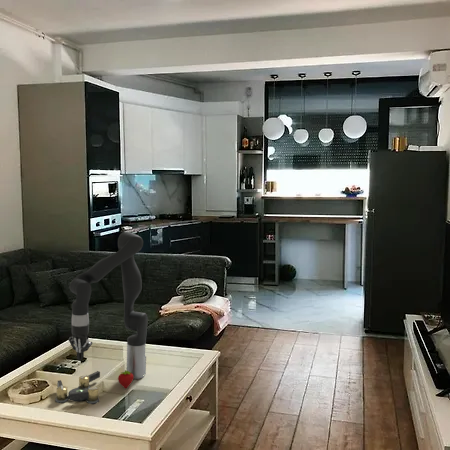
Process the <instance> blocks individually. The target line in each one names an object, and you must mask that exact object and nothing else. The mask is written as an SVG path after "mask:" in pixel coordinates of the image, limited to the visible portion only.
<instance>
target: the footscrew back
mask: <svg viewBox="0 0 450 450" xmlns="http://www.w3.org/2000/svg"><path fill="white" fill-rule="evenodd" d="M100 377H101V372H100V371H98V370H96V371H94V372H92V373H91V374H85V375H80V376H79V377H78V386H79V388H81V387H83V388H88V387H89V386H90V383H91V382H93V381H95V380H97V379H99V378H100Z"/></svg>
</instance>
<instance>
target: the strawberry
mask: <svg viewBox="0 0 450 450" xmlns="http://www.w3.org/2000/svg"><path fill="white" fill-rule="evenodd" d="M126 370H127V369H125V370H124V371H122V372H120V374H119V375H118V377H117V380H118V383H119V384H120V386H122V387H123V389H128V388H129V386H130V385H131V383H132V382H133V380H134V379H133V378H134V377H133V374H132V373H130V372H129V371H126Z"/></svg>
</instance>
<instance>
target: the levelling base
mask: <svg viewBox="0 0 450 450" xmlns="http://www.w3.org/2000/svg"><path fill="white" fill-rule="evenodd" d="M89 388H91V386H90V385H89V387H88V388H83V387H81V388H79V385H78V387H75V388H72V389H70V390H69V391H68V392H67V399H65V400H57V396H56V397H55V403H58V404H64V403H67V402H68V401H72V402H74V403H75V402H77V403H78V402H86V403H87V404H89V405H96V404H98V403H99V402H100V398H99V397H98V400H96V401H89V400H88V398H84V399H77V400H70V393H72V392H80V391H87V390H88V389H89Z"/></svg>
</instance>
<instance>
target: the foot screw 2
mask: <svg viewBox="0 0 450 450" xmlns="http://www.w3.org/2000/svg"><path fill="white" fill-rule="evenodd" d="M84 398H88V400H89V401H96V400H98V398H99V388H98V387H96V386H95V387H94V386H92V387H91V386H90V388H89V389H88V390H87V391H80V392H72V393H70V400H69V401H71V400H77V399H84Z"/></svg>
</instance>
